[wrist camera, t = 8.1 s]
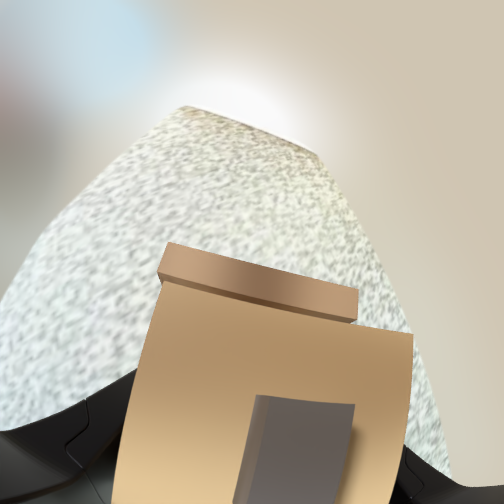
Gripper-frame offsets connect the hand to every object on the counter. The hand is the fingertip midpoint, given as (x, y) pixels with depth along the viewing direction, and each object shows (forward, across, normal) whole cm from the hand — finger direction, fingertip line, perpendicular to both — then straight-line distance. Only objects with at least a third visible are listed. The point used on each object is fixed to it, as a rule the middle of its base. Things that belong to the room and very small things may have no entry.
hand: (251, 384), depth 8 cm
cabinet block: (+4, 0, +6) cm, 7 cm away
